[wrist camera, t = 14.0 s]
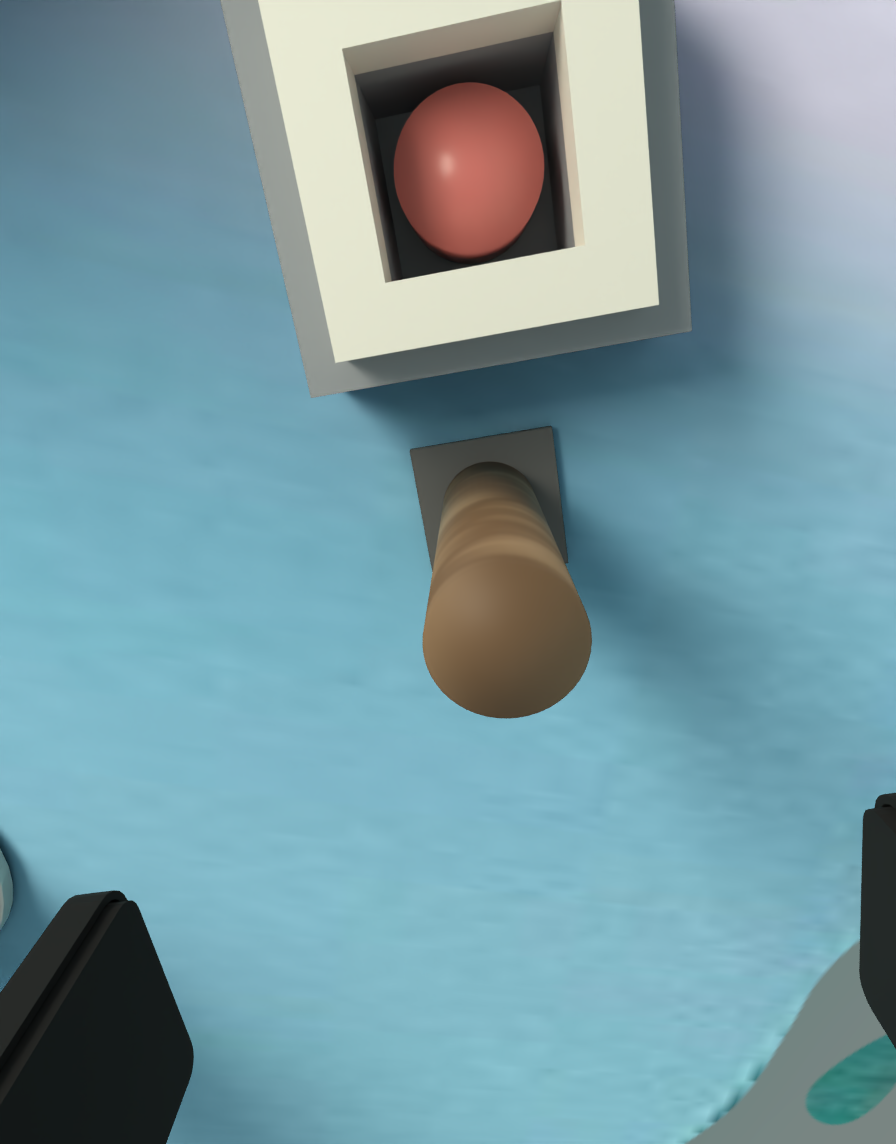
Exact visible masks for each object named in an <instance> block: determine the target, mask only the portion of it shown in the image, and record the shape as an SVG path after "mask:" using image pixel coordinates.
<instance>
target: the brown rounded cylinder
mask: <svg viewBox="0 0 896 1144" xmlns="http://www.w3.org/2000/svg"><path fill="white" fill-rule="evenodd" d="M591 645H592V636H591V628H590V622H589V619H588V616H587V613H586V611H585V609H584V606H583V604H582V602H581V599H580V597H579V595H578V592H577V590H576V588H575V586H574V583H573V581H572V579H571V576H570V574H569V572H568V569H567V567H566V565H565V563H564V560H563V558H562V556H561V553H560V551H559V549H558V546H557V544H556V542H555V540H554V537H553V535H552V533H551V530H550V528H549V526H548V523H547V521H546V519H545V517H544V514H543V512H542V510H541V507H540V505H539V503H538V500H537V498H536V496H535V493H534V491H533V489H532V487H531V485H530V483H529V482H528V480H527V479H526V478H525V477H524V475H523V474H522V473H520V472H519V471H518V470H516V469H515V468H513V467H511V466H509V465H507V464H504V463H500V462H491V461H488V462H480V463H476V464H473V465H471V466H469V467H467V468H465V469H464V470H462V471H461V472H460V473H458V474H457V475H456V476H455V477H454V479H453V480H452V481H451V483H450V484H449V486H448V488H447V490H446V493H445V496H444V502H443V508H442V515H441V521H440V528H439V534H438V541H437V547H436V554H435V560H434V567H433V573H432V580H431V586H430V593H429V599H428V606H427V612H426V619H425V625H424V632H423V653H424V658H425V662H426V666H427V668H428V670H429V673H430V675H431V677H432V678H433V680H434V682H435V683H436V685H437V686H438V687H439V688H440V689H441V691H442V692H443V693H444V694H445V695H446V696H447V697H448V698H450V699H451V700H452V701H454V702H455V703H456V704H458V705H459V706H461V707H463V708H465V709H467V710H469V711H471V712H474V713H476V714H480V715H484V716H488V717H494V718H519V717H524V716H529V715H532V714H535V713H538V712H541V711H543V710H545V709H547V708H549V707H551V706H553V705H554V704H556V703H558V702H559V701H560V700H561V699H563V698H564V697H565V696H566V695H567V694H568V693H569V692H570V691H571V690H572V689H573V688H574V687H575V686H576V684H577V683H578V682H579V680H580V679H581V677H582V675H583V673H584V671H585V669H586V667H587V664H588V661H589V657H590V653H591Z"/></svg>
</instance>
